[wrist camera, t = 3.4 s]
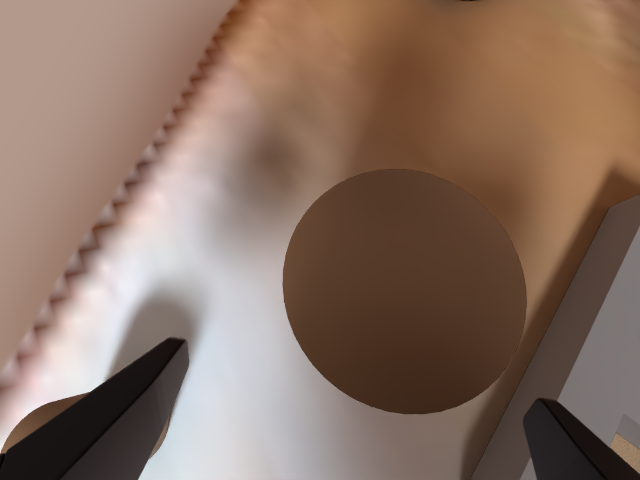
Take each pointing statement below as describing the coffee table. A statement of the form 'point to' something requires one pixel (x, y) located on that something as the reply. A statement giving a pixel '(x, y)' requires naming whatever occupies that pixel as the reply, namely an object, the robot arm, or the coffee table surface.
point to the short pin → (46, 414)
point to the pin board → (584, 351)
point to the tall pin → (404, 291)
